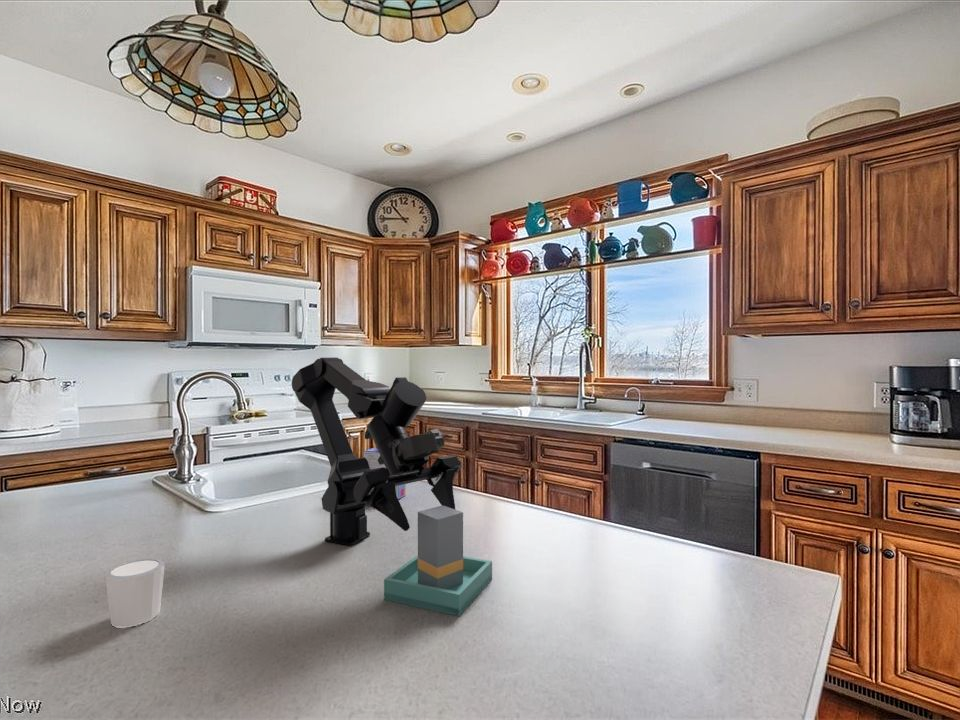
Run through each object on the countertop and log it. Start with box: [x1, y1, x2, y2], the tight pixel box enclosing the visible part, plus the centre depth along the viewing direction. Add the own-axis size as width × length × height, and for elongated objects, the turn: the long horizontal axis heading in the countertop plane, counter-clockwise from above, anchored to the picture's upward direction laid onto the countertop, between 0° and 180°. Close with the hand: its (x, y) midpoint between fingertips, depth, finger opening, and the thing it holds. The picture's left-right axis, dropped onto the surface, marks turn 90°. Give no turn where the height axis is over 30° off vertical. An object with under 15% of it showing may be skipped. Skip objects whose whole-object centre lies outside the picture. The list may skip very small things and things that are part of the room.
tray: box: [383, 554, 493, 617], centre depth 78 cm, size 12×12×3 cm
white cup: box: [104, 558, 166, 627], centre depth 69 cm, size 7×7×7 cm
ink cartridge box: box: [363, 447, 407, 501], centre depth 129 cm, size 10×6×14 cm, turn 78°
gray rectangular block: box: [417, 505, 464, 590], centre depth 77 cm, size 5×5×11 cm
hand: (431, 522), depth 79 cm, fingers open, 9 cm apart
